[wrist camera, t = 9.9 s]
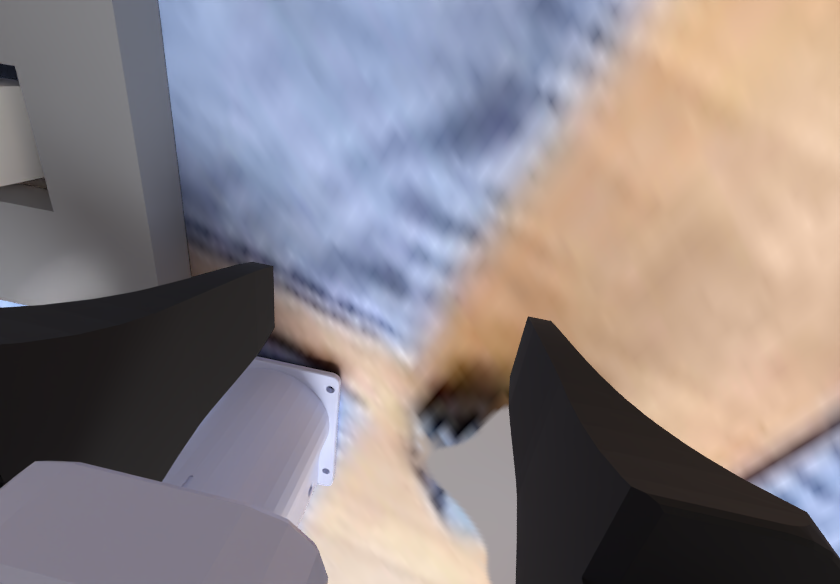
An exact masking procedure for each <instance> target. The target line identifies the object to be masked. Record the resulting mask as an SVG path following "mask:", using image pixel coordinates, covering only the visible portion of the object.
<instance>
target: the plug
mask: <svg viewBox="0 0 840 584" xmlns="http://www.w3.org/2000/svg"><path fill="white" fill-rule="evenodd" d="M43 177H44V174H43V170H42V166H41V163H40V159H39V155H38V151H37V148H36V144H35V140H34V136H33V133H32V129H31V125H30V121H29V118H28V114H27V110H26V106H25V103H24V99H23V95H22V91H21V88H20V84H19V80H13V79H7V78H1V77H0V187H1V186H6V185H10V184H15V183H20V182H24V181H29V180H34V179H38V178H43Z"/></svg>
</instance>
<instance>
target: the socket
mask: <svg viewBox="0 0 840 584" xmlns="http://www.w3.org/2000/svg"><path fill="white" fill-rule="evenodd" d="M0 64H6V65H12V66H15V69H16V73H17V76H18V80H19V84H20V88H21V91H22V95H23V99H24V103H25V106H26V110H27V114H28V118H29V121H30V125H31V129H32V133H33V136H34V140H35V144H36V148H37V151H38V155H39V159H40V163H41V166H42V170H43V174H44V178H45V181H46V185H47V189H43V188H38V187H33V186H27V185H22V184H17V183H15V184H10V185H6V186H1V187H0V300H4V301H9V302H14V303H18V304H23V305H28V306H35V305H45V304H54V303H63V302H71V301H80V300H88V299H95V298H102V297H107V296H113V295H119V294H124V293H129V292H134V291H139V290H144V289H148V288H152V287H156V286H160V285H164V284H168V283H172V282H176V281H180V280H184V279H187V278H191V271H190V263H189V254H188V246H187V238H186V230H185V221H184V213H183V205H182V197H181V188H180V180H179V172H178V164H177V155H176V147H175V139H174V131H173V122H172V114H171V106H170V98H169V89H168V81H167V73H166V65H165V56H164V48H163V40H162V32H161V23H160V15H159V7H158V0H0Z"/></svg>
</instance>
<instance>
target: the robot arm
mask: <svg viewBox="0 0 840 584" xmlns="http://www.w3.org/2000/svg"><path fill="white" fill-rule="evenodd" d="M274 327H275V324H274V281H273V266H270V265H265V264H260V263H255V262H250V263H243V264H239V265H235V266H231V267H227V268H223V269H219V270H216V271H212V272H209V273H205V274H202V275H198V276H195V277H191V278H187V279H184V280H180V281H176V282H172V283H168V284H164V285H160V286H156V287H152V288H148V289H144V290H139V291H134V292H129V293H124V294H119V295H113V296H107V297H102V298H95V299H88V300H80V301H71V302H63V303H54V304H45V305H35V306H21V307H5V308H0V584H328V576H327V573H326V570H325V567H324V564H323V562H322V559H321V556H320V553H319V550H318V548H317V546H316V545H315V543H314V542H313V541H312V540H311V539H310V538H308V537H307V536H306V535H305V534H304V533H303V532H302V531H301V530H300V529H298V526H299V523H300V521H301V519H302V517H303V514H304V512H305V510H306V508H307V505H308V503H309V501H310V498H311V496H312V494H313V492H314V489H315V487H316V485H317V484H320V485H324V486H330V485H332V483H333V481H334V474H335V460H336V445H337V430H338V415H339V401H340V386H341V379H340V377H339V376H338V375H337V374H335V373H332V372H327V371H323V370H318V369H313V368H309V367H304V366H300V365H295V364H290V363H286V362H281V361H276V360H272V359H267V358H263V357H258V356H257V355H258V354H259V352H260V351H261V349H262V348H263V346H264V344H265V343H266V341H267V339H268V338H269V336H270V334H271V333H272V331H273V329H274ZM329 386H331V387H333V388H334V389H331V388H330V387H329ZM509 416H510V426H511V436H512V445H513V456H514V465H515V475H516V487H517V555H516V559H517V560H516V584H840V558H839V556H838V555H837V554H836V552H835V551H834V549H833V548H832V547H831V545H830V544H829V542H828V541H827V540H826V538H825V537H824V535H823V534H822V533H821V531H820V530H819V528H818V527H817V526H816V524H815V523H814V521H813V520H812V519H811V517H810V516H809V514H808V513H807V512H805V511H803V510H801V509H800V508H798V507H796V506H794V505H792V504H790V503H788V502H786V501H784V500H782V499H780V498H778V497H776V496H775V495H773V494H771V493H769V492H767V491H765V490H763V489H761V488H759V487H757V486H755V485H753V484H751V483H750V482H748V481H746V480H744V479H742V478H740V477H739V476H737V475H735V474H733V473H732V472H730V471H728V470H727V469H725V468H723V467H722V466H720V465H718V464H717V463H715V462H713V461H711V460H710V459H708V458H706V457H705V456H703V455H702V454H700V453H699V452H697V451H695V450H694V449H692V448H691V447H689V446H688V445H686V444H685V443H683V442H682V441H680V440H679V439H677V438H676V437H675V436H673V435H672V434H670V433H669V432H667V431H666V430H665V429H663V428H662V427H660V426H659V425H658V424H656V423H655V422H654V421H652V420H651V419H650V418H648V417H647V416H646V415H644V414H643V413H642V412H641V411H640V410H638V409H637V408H636V407H635V406H634V405H632V404H631V403H630V402H629V401H627V400H626V399H625V398H624V397H623V396H622V395H621V394H619V393H618V392H617V391H616V390H615V389H614V388H613V387H612V386H611V385H610V384H609V383H608V382H607V381H606V380H605V379H604V378H603V377H602V376H600V375H599V374H598V373H597V371H596V370H595V369H594V368H593V367H592V366H591V365H590V364H589V363H588V362H587V361H586V360H585V359H584V358H583V357H582V355H581V354H580V353H579V352H578V351H577V350H576V349H575V348H574V346H573V345H572V344H571V343H570V342H569V341H568V340H567V338H566V337H565V336H564V335H563V334H562V333H561V331H560V330H559V329H558V328H557V327H556V326H555V325H554V324H553V323H552V322H551V321H548V320H543V319H538V318H533V317H528V318H527V321H526V325H525V328H524V331H523V335H522V338H521V342H520V345H519V348H518V352H517V355H516V358H515V362H514V365H513V368H512V372H511V375H510V388H509Z"/></svg>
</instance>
